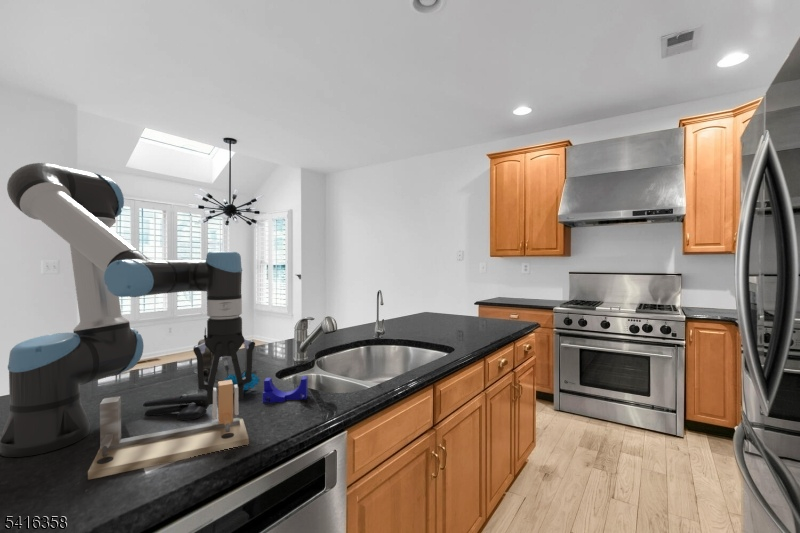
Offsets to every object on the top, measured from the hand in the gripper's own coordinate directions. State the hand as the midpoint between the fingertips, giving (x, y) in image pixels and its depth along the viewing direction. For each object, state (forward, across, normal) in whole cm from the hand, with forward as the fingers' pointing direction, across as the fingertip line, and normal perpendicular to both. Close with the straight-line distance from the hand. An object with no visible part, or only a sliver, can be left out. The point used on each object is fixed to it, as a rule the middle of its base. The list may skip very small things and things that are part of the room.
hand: (225, 414), depth 91 cm
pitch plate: (+4, -10, -4) cm, 11 cm away
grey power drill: (+4, -3, +58) cm, 59 cm away
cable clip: (+5, +17, +16) cm, 24 cm away
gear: (+4, +6, +27) cm, 28 cm away
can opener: (+5, -11, +18) cm, 21 cm away
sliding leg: (+2, 0, -2) cm, 3 cm away
